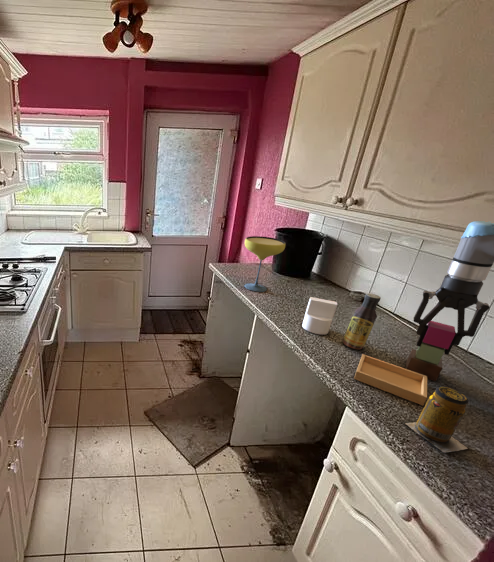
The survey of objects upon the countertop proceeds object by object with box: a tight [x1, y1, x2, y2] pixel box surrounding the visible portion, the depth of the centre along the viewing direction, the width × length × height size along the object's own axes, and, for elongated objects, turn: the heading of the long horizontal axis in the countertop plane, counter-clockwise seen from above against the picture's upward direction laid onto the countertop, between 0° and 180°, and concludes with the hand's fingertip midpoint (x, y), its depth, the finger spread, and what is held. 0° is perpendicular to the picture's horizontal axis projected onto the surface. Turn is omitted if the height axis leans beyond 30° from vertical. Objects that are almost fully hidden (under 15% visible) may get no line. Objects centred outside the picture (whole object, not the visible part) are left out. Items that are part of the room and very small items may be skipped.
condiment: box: [404, 386, 469, 453], centre depth 72 cm, size 7×8×12 cm
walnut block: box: [405, 348, 443, 382], centre depth 97 cm, size 7×7×5 cm
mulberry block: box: [423, 320, 457, 349], centre depth 93 cm, size 6×6×6 cm
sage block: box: [416, 341, 445, 365], centre depth 96 cm, size 5×5×5 cm
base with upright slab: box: [301, 296, 338, 336], centre depth 120 cm, size 9×9×12 cm
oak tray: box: [353, 353, 428, 407], centre depth 93 cm, size 16×13×3 cm
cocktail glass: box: [243, 235, 286, 293], centre depth 155 cm, size 18×18×25 cm
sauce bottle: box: [342, 292, 381, 351], centre depth 107 cm, size 6×6×20 cm
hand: (432, 348), depth 95 cm, fingers closed on mulberry block, 5 cm apart
